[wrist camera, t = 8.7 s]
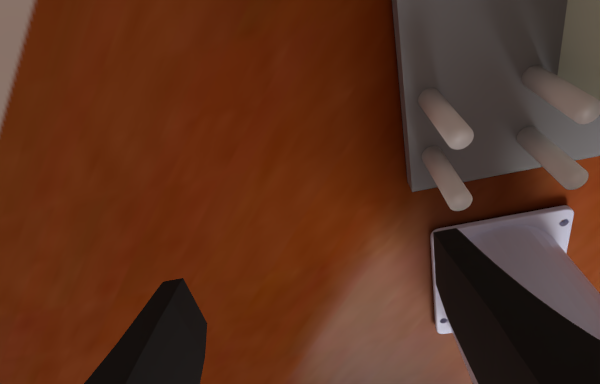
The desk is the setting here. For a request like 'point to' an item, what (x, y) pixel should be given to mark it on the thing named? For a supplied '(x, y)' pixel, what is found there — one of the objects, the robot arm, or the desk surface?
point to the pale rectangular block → (581, 46)
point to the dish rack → (488, 94)
